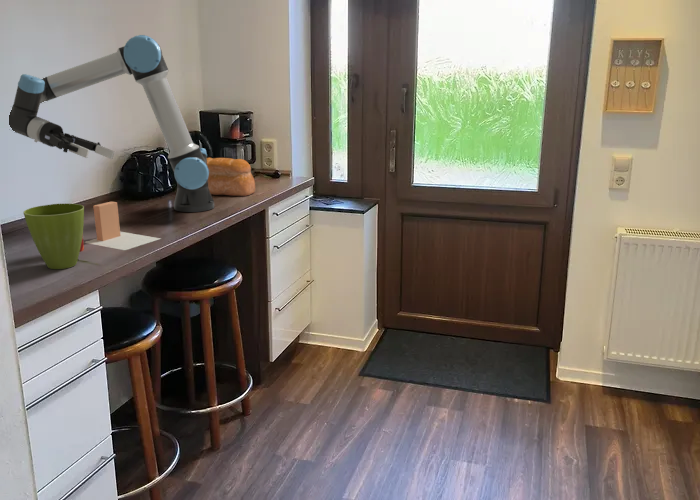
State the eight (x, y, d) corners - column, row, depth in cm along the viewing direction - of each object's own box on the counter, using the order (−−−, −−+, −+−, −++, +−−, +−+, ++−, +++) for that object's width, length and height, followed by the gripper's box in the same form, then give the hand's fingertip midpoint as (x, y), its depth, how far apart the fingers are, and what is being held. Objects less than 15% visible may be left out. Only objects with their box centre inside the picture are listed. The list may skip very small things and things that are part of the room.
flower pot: (26, 276, 169) (17, 216, 164) (37, 259, 183) (29, 204, 178) (87, 271, 173) (80, 213, 168) (93, 255, 186) (86, 202, 182)
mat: (120, 233, 211) (120, 231, 211) (161, 240, 203) (161, 238, 203) (83, 244, 198) (82, 242, 198) (124, 252, 190) (124, 250, 190)
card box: (114, 235, 207) (111, 201, 204) (120, 236, 206) (117, 202, 202) (97, 240, 201) (93, 205, 198) (103, 241, 200) (99, 206, 197)
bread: (246, 197, 268) (245, 161, 264) (189, 194, 274) (187, 159, 269) (258, 191, 280) (257, 156, 276) (203, 188, 286) (201, 154, 282)
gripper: (67, 145, 225) (119, 166, 221) (15, 141, 201) (73, 164, 197) (73, 124, 223) (125, 145, 220) (21, 118, 199) (79, 141, 196)
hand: (100, 154), depth 208 cm, fingers open, 13 cm apart
